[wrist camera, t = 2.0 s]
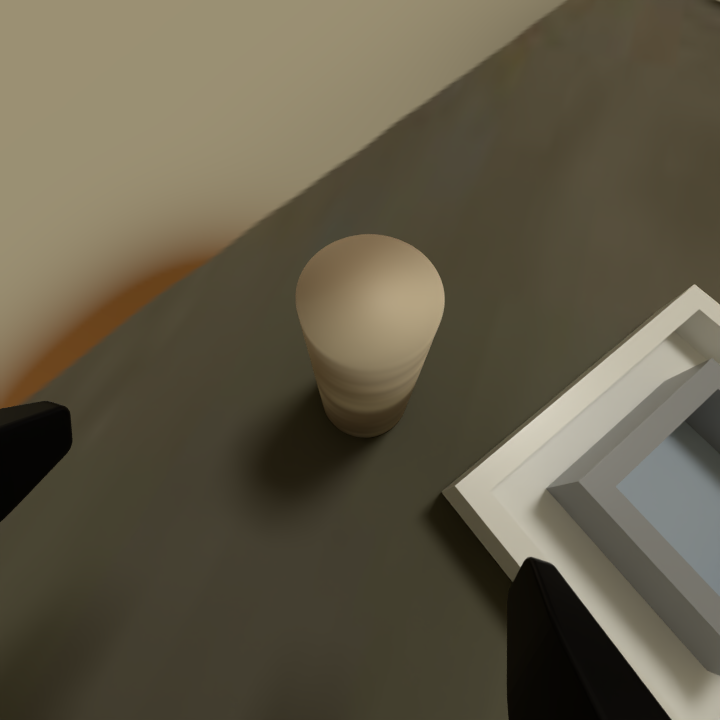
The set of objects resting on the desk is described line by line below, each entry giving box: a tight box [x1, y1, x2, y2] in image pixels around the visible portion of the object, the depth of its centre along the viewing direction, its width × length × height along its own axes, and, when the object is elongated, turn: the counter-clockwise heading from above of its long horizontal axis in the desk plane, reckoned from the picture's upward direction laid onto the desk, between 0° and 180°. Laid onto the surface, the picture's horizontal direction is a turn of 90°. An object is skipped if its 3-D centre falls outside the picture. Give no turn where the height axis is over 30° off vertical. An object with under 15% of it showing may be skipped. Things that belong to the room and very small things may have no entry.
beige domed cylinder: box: [296, 234, 444, 438], centre depth 17 cm, size 4×4×10 cm
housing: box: [442, 284, 720, 720], centre depth 18 cm, size 14×16×4 cm
